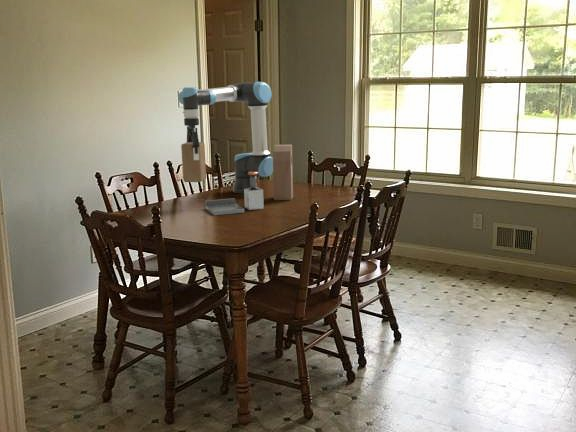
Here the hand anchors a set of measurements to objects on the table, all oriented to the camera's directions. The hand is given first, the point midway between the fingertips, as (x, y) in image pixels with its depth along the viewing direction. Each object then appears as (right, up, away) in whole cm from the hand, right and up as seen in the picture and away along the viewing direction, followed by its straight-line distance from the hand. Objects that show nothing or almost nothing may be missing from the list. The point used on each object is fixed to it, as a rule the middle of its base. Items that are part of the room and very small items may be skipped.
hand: (193, 158), depth 334 cm
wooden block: (0, -12, +3) cm, 12 cm away
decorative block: (+47, -20, +26) cm, 58 cm away
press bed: (+17, -27, -3) cm, 32 cm away
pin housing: (+32, -26, +2) cm, 41 cm away
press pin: (+31, -18, 0) cm, 36 cm away
